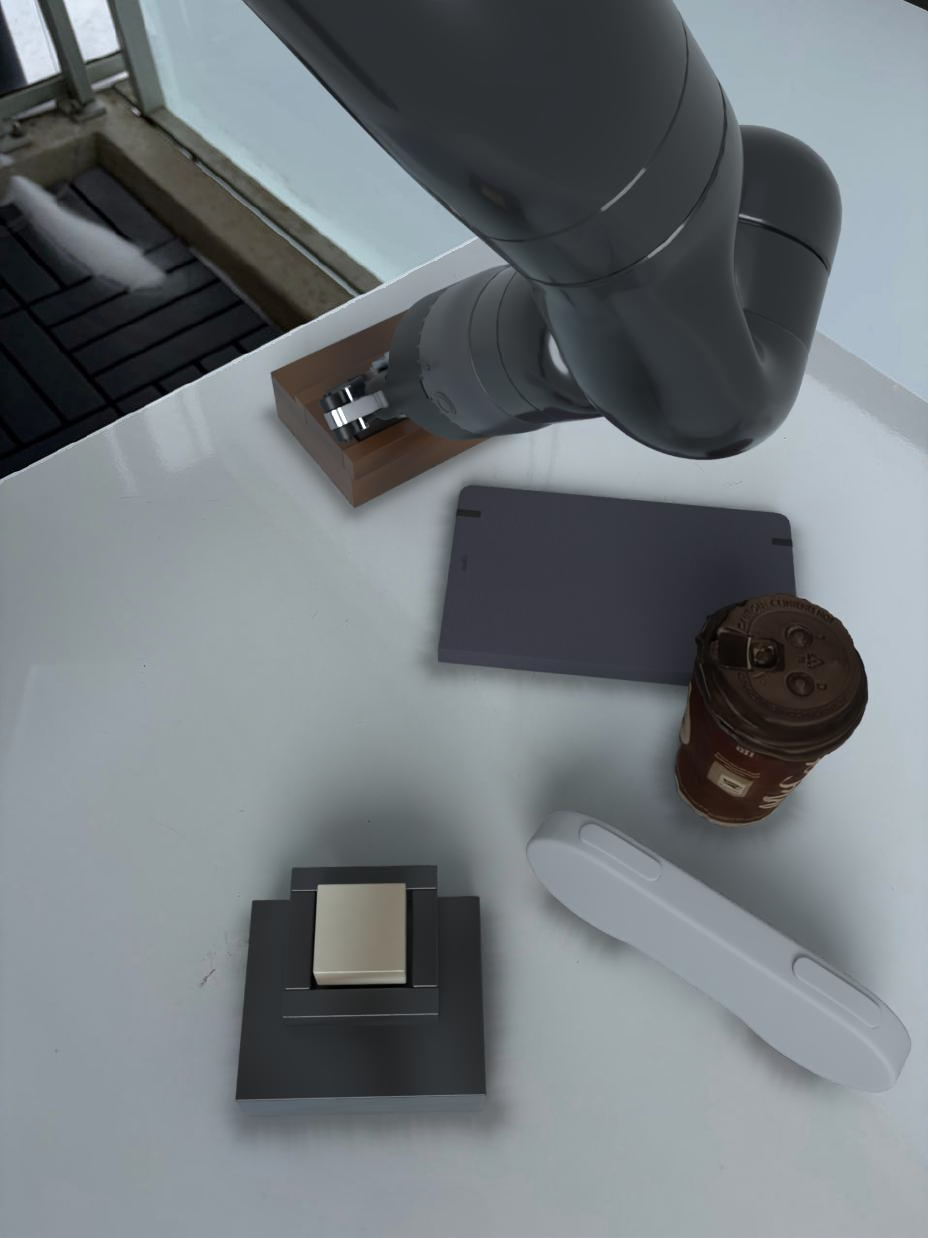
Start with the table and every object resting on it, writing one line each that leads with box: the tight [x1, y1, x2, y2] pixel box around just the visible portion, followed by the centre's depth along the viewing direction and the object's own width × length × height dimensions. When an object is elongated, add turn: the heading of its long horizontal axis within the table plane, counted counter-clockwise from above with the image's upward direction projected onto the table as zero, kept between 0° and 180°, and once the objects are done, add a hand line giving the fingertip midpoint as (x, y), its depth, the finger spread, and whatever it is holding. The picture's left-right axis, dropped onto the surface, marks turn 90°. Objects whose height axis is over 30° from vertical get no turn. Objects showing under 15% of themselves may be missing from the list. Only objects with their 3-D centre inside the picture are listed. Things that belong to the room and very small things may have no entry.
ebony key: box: [325, 381, 408, 442], centre depth 68 cm, size 4×4×2 cm
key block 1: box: [269, 308, 492, 509], centre depth 72 cm, size 12×11×6 cm
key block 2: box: [234, 864, 487, 1118], centre depth 51 cm, size 11×10×6 cm
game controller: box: [525, 809, 912, 1094], centre depth 51 cm, size 20×2×8 cm, turn 55°
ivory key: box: [313, 883, 407, 985], centre depth 49 cm, size 4×4×2 cm
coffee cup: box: [673, 593, 869, 828], centre depth 55 cm, size 9×8×13 cm
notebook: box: [437, 484, 797, 687], centre depth 67 cm, size 13×2×21 cm
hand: (369, 389), depth 67 cm, fingers closed
